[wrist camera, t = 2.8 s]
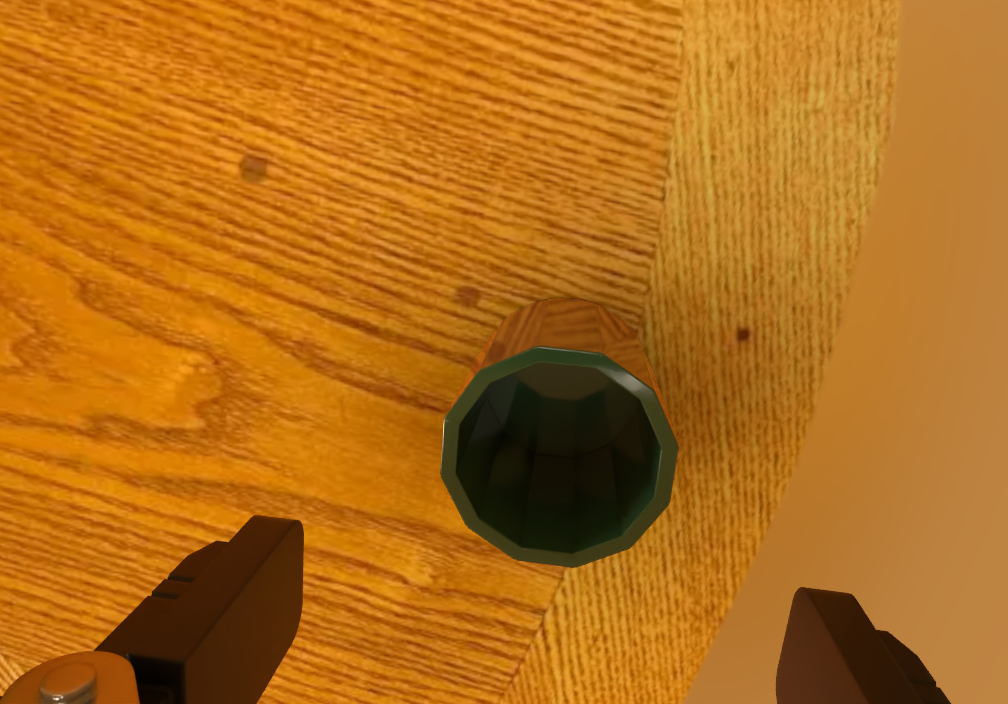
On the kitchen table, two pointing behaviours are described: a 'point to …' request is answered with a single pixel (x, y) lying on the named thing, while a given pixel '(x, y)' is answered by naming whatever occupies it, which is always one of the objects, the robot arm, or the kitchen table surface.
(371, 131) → the kitchen table surface
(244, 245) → the kitchen table surface
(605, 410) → the green faceted cup
